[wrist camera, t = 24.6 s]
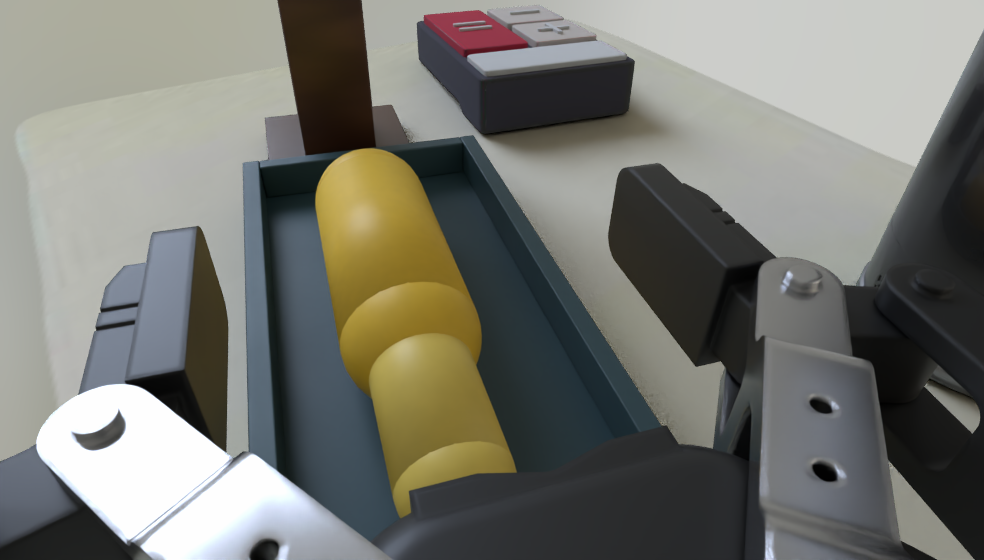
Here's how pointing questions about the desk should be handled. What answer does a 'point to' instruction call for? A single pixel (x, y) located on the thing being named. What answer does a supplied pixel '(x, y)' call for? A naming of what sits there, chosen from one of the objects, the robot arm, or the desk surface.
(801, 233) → the desk surface
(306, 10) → the stand
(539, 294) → the tray
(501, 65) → the calculator
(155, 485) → the robot arm
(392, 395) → the yellow bottle
